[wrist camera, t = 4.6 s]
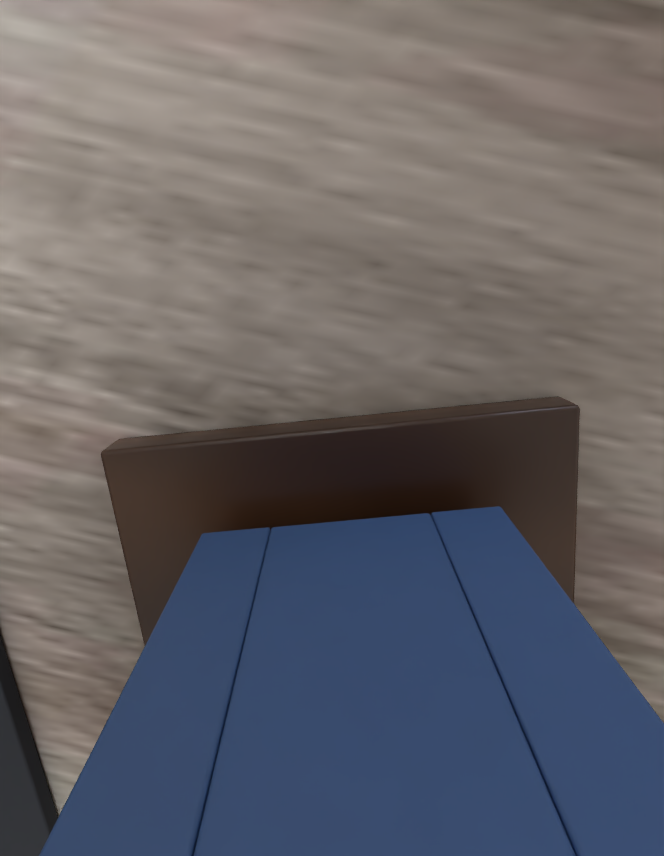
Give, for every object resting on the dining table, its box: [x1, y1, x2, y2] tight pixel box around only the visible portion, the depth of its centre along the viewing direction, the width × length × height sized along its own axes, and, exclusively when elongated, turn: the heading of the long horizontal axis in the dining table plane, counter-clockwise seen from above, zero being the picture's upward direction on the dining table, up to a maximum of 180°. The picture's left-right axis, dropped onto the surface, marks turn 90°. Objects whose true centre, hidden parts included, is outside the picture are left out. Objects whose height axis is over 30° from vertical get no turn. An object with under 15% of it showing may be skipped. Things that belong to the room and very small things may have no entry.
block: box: [39, 506, 664, 856], centre depth 8 cm, size 6×6×7 cm
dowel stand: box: [101, 397, 580, 645], centre depth 10 cm, size 10×10×6 cm
